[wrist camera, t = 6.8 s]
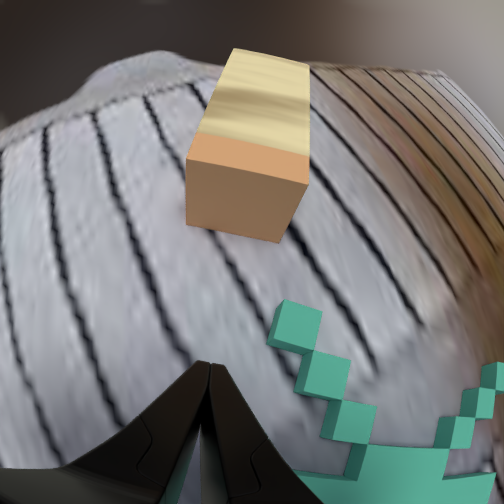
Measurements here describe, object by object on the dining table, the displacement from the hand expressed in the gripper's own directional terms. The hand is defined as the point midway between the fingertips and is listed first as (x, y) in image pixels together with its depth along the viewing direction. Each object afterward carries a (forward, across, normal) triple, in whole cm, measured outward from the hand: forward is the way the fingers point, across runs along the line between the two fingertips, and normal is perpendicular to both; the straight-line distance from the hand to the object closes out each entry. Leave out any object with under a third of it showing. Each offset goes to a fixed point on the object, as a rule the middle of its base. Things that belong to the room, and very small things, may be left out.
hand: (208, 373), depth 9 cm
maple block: (+10, 0, -4) cm, 10 cm away
